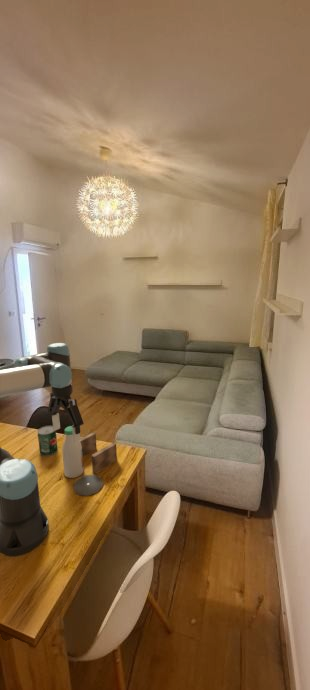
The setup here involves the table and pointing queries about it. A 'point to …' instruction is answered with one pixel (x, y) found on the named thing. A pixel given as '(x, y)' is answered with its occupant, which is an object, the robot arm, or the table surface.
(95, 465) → the bookends
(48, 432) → the canned tomato
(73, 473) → the milk bottle
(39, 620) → the table surface
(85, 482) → the coaster
